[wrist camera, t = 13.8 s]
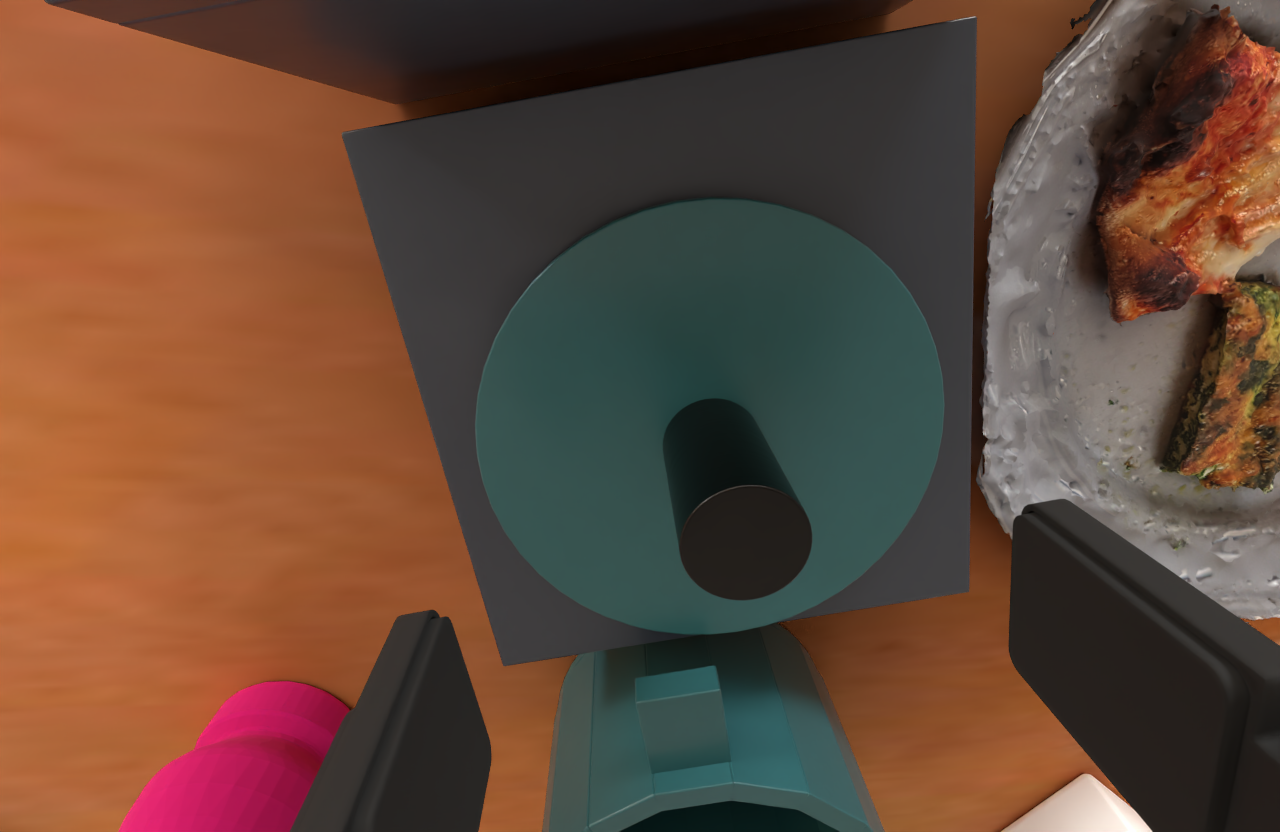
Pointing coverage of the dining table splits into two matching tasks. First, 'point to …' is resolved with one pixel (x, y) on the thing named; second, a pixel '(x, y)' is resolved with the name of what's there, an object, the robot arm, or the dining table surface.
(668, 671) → the pot
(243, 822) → the pepper mill
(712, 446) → the lid
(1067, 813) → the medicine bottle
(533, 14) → the grey stepped block
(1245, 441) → the food plate
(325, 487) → the dining table surface
